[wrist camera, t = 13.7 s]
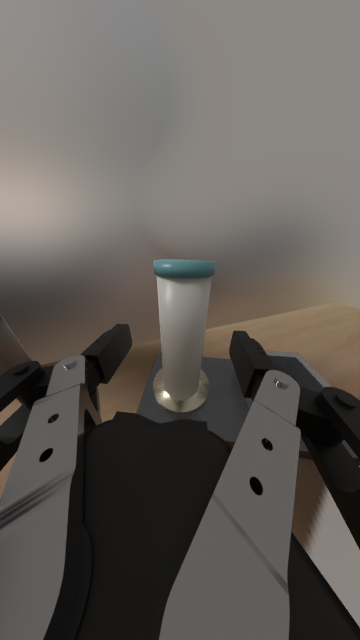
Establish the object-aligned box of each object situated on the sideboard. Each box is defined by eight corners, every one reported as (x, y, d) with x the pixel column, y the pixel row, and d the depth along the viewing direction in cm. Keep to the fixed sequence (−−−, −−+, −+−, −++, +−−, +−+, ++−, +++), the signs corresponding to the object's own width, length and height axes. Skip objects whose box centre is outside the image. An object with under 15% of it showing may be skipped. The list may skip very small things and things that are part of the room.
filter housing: (133, 435, 15) (124, 407, 13) (158, 359, 26) (156, 336, 23) (363, 466, 13) (408, 440, 11) (289, 370, 24) (303, 346, 21)
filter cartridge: (158, 398, 17) (144, 262, 10) (166, 366, 22) (161, 258, 14) (200, 403, 17) (220, 264, 9) (199, 369, 21) (212, 259, 14)
